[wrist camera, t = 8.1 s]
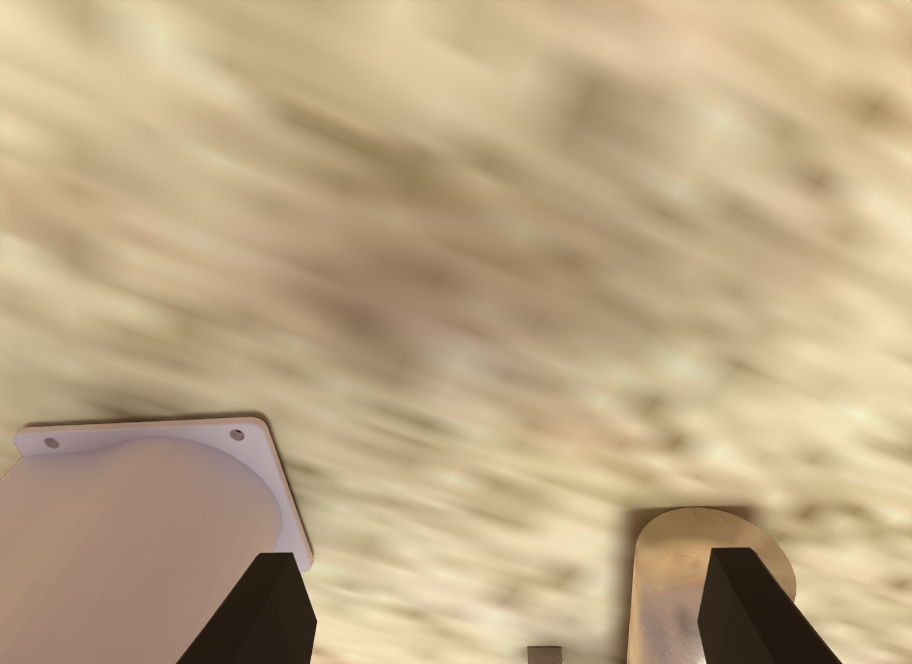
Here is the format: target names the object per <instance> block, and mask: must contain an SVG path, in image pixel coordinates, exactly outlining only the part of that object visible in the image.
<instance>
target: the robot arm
mask: <svg viewBox="0 0 912 664" xmlns="http://www.w3.org/2000/svg"><path fill="white" fill-rule="evenodd" d="M235 429H236V430H240V431H241V432H243V433H239V432H237V431H236V430H235ZM13 441H14V444H15V446H16V447H17V449H18V450H19V452H20V453H21V455H22V458H21V459H20V460H19V461H18V462H17V463H16V464H15V465H14V466H13V467H12V468H11V469H10V470H9V471H8V472H7V473H6V474H5V476H4V477H3V478H2V479H1V480H0V664H310V660H311V655H312V649H313V643H314V637H315V631H316V625H317V620H316V617H315V614H314V611H313V608H312V605H311V603H310V600H309V597H308V594H307V591H306V588H305V585H304V583H303V580H302V577H301V574H300V572H305V571H308V570H310V568H311V567H312V563H313V556H312V553H311V550H310V547H309V544H308V541H307V538H306V536H305V533H304V530H303V527H302V524H301V521H300V518H299V515H298V513H297V510H296V507H295V504H294V501H293V498H292V495H291V492H290V490H289V487H288V484H287V481H286V478H285V475H284V472H283V470H282V467H281V464H280V461H279V458H278V455H277V452H276V449H275V447H274V444H273V441H272V438H271V435H270V432H269V429H268V427H267V425H266V424H265V423H264V422H263V421H262V420H260V419H258V418H255V417H239V418H218V419H196V420H174V421H153V422H131V423H110V424H88V425H67V426H45V427H26V428H22V429H21V430H20V431H18V432H17V433H16V434H15V435H14V437H13ZM697 624H698V628H699V633H700V637H701V642H702V647H703V651H704V656H705V660H706V664H842V663H841V661H840V660H839V659H838V658H837V657H836V655H835V654H834V653H833V652H832V651H831V649H830V648H829V647H828V646H827V645H826V643H825V642H824V641H823V640H822V638H821V637H820V636H819V635H818V633H817V632H816V631H815V630H814V628H813V627H812V626H811V625H810V623H809V622H808V621H807V620H806V618H805V617H804V616H803V614H802V613H801V612H800V611H799V609H798V608H797V607H796V606H795V604H794V603H793V602H792V600H791V599H790V598H789V596H788V595H787V594H786V593H785V591H784V590H783V589H782V587H781V586H780V585H779V583H778V582H777V581H776V579H775V578H774V577H773V575H772V574H771V573H770V571H769V570H768V568H767V567H766V566H765V564H764V563H763V562H762V560H761V559H760V558H759V556H758V555H757V554H756V552H755V551H754V550H752V549H751V548H750V547H728V548H711V553H710V558H709V563H708V568H707V574H706V579H705V584H704V589H703V594H702V599H701V604H700V609H699V614H698V619H697Z"/></svg>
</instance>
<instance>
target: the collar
mask: <svg viewBox="0 0 912 664" xmlns="http://www.w3.org/2000/svg"><path fill="white" fill-rule="evenodd" d="M528 664H562V658H561V647H528Z"/></svg>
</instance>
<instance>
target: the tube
mask: <svg viewBox="0 0 912 664" xmlns="http://www.w3.org/2000/svg"><path fill="white" fill-rule="evenodd" d="M728 547H750V548H751V549H752V550H754V551H755V552H756V554H757V555H758V556H759V558H760V559H761V560H762V562H763V563H764V564H765V566H766V567H767V568H768V570H769V571H770V573H771V574H772V575H773V577H774V578H775V579H776V581H777V582H778V583H779V585H780V586H781V587H782V589H783V590H784V591H785V593H786V594H787V595H788V596H789V598H790V599H791V600H792V602H793V603H794V600H795V595H796V581H795V575H794V572H793V569H792V566H791V564H790V562H789V560H788V558H787V557H786V555H785V554H784V552H783V551H782V549H781V548H780V547H779V546H778V545H777V543H776V542H775V541H774V540H773V539H772V538H771V537H769V536H768V535H767V534H766V533H765V532H763V531H762V530H761V529H759V528H758V527H756V526H755V525H753V524H752V523H750V522H748V521H746V520H744V519H742V518H740V517H738V516H735V515H733V514H730V513H727V512H724V511H720V510H716V509H710V508H700V507H688V508H680V509H675V510H671V511H668V512H666V513H663V514H661V515H659V516H657V517H656V518H654V519H653V520H651V521H650V522H649V523H648V524H647V525H646V526H645V527H644V529H643V530H642V531H641V533H640V535H639V537H638V539H637V543H636V547H635V557H634V571H633V585H632V598H631V612H630V626H629V639H628V653H627V664H706V660H705V656H704V651H703V647H702V642H701V637H700V633H699V628H698V624H697V619H698V614H699V609H700V604H701V599H702V594H703V589H704V584H705V579H706V574H707V568H708V563H709V558H710V553H711V548H728Z"/></svg>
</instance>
